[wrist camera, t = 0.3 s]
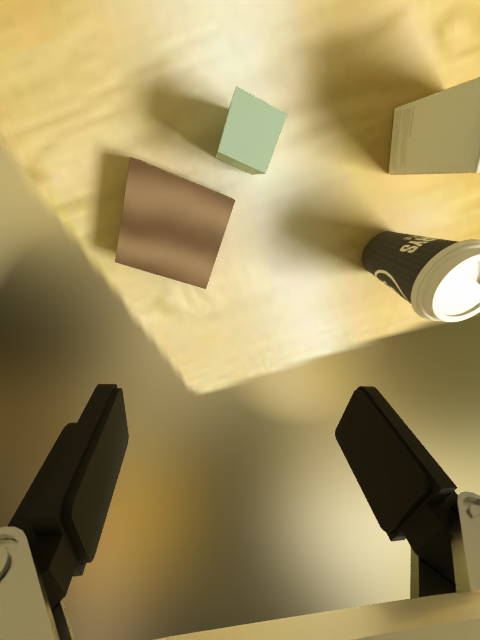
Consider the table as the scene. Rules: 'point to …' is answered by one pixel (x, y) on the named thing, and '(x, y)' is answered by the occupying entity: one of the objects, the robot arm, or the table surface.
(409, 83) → the table surface
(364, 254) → the coffee cup
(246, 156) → the sage block
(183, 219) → the block
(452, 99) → the supplement box
